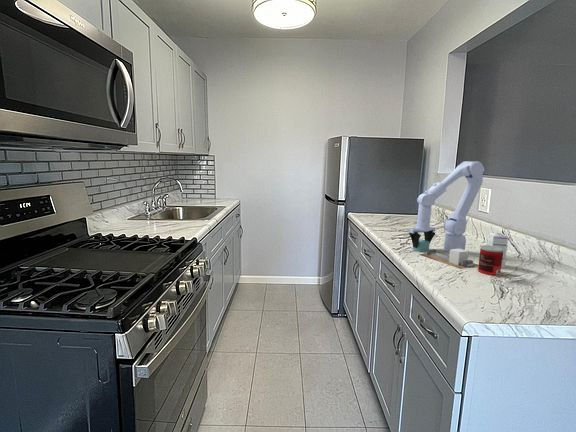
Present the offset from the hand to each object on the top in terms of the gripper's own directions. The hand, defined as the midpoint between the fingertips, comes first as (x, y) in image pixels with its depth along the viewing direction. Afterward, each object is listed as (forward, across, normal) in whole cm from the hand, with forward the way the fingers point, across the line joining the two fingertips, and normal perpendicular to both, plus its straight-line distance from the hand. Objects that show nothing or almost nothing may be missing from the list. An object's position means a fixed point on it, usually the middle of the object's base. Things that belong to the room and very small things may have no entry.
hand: (420, 246), depth 165 cm
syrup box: (+3, -10, +30) cm, 32 cm away
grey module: (+1, +2, +22) cm, 22 cm away
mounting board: (+2, +2, +17) cm, 17 cm away
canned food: (+3, +1, +35) cm, 35 cm away
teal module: (+3, 0, 0) cm, 3 cm away
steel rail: (+1, +2, +17) cm, 17 cm away
